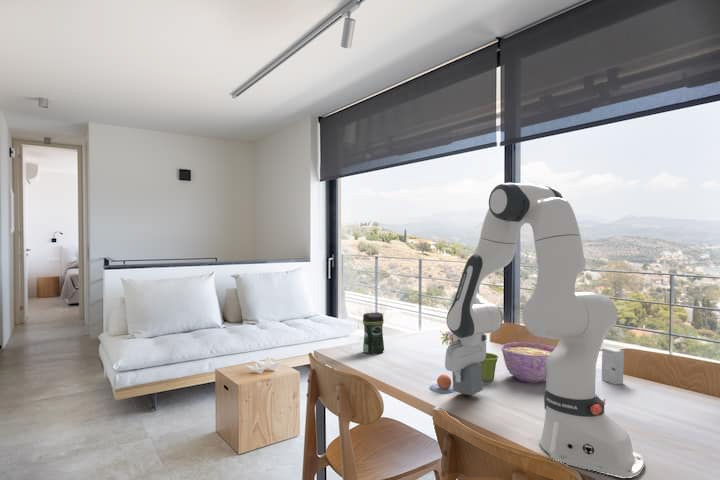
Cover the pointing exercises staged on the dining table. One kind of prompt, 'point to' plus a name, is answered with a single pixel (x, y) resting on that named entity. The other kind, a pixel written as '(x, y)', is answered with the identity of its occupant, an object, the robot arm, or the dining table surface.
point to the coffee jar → (373, 333)
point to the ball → (444, 381)
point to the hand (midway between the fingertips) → (466, 378)
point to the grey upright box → (469, 380)
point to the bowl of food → (526, 360)
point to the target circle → (439, 390)
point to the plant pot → (489, 366)
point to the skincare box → (612, 365)
